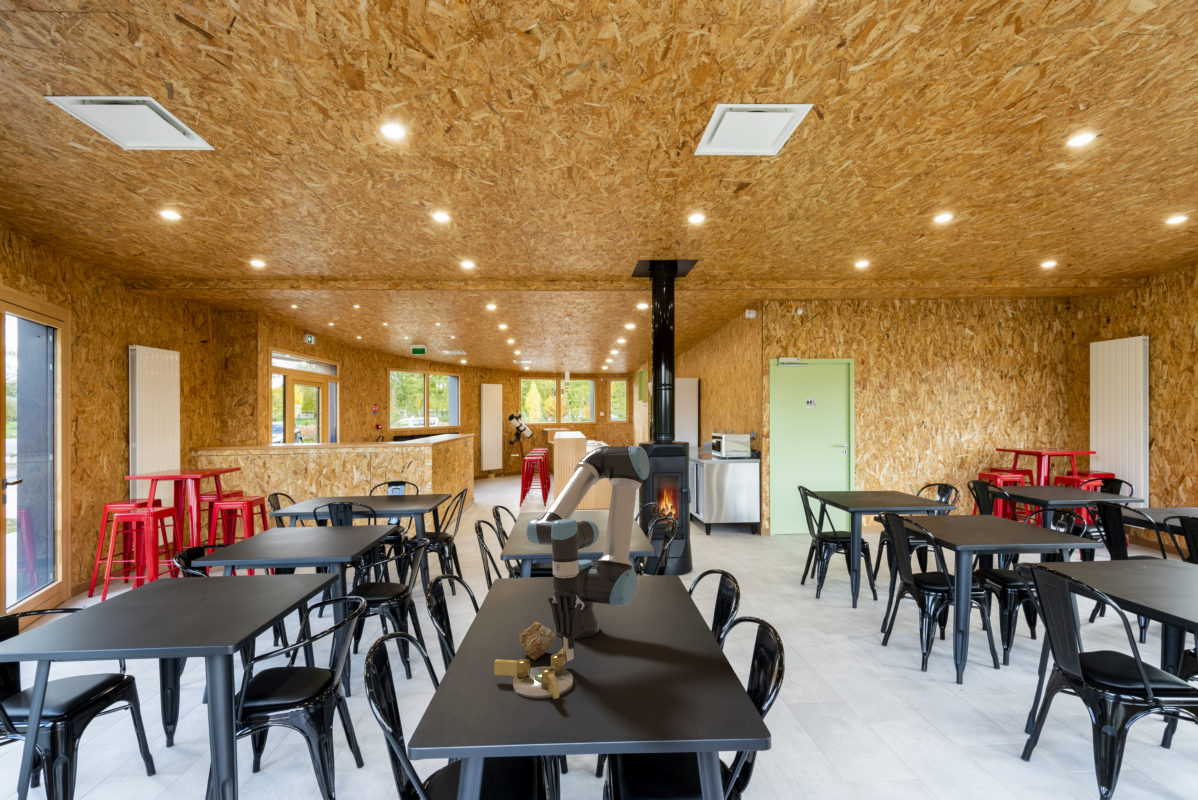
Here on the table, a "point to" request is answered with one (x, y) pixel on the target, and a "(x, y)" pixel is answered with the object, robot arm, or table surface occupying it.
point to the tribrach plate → (533, 684)
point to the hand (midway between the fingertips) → (569, 659)
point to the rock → (536, 640)
